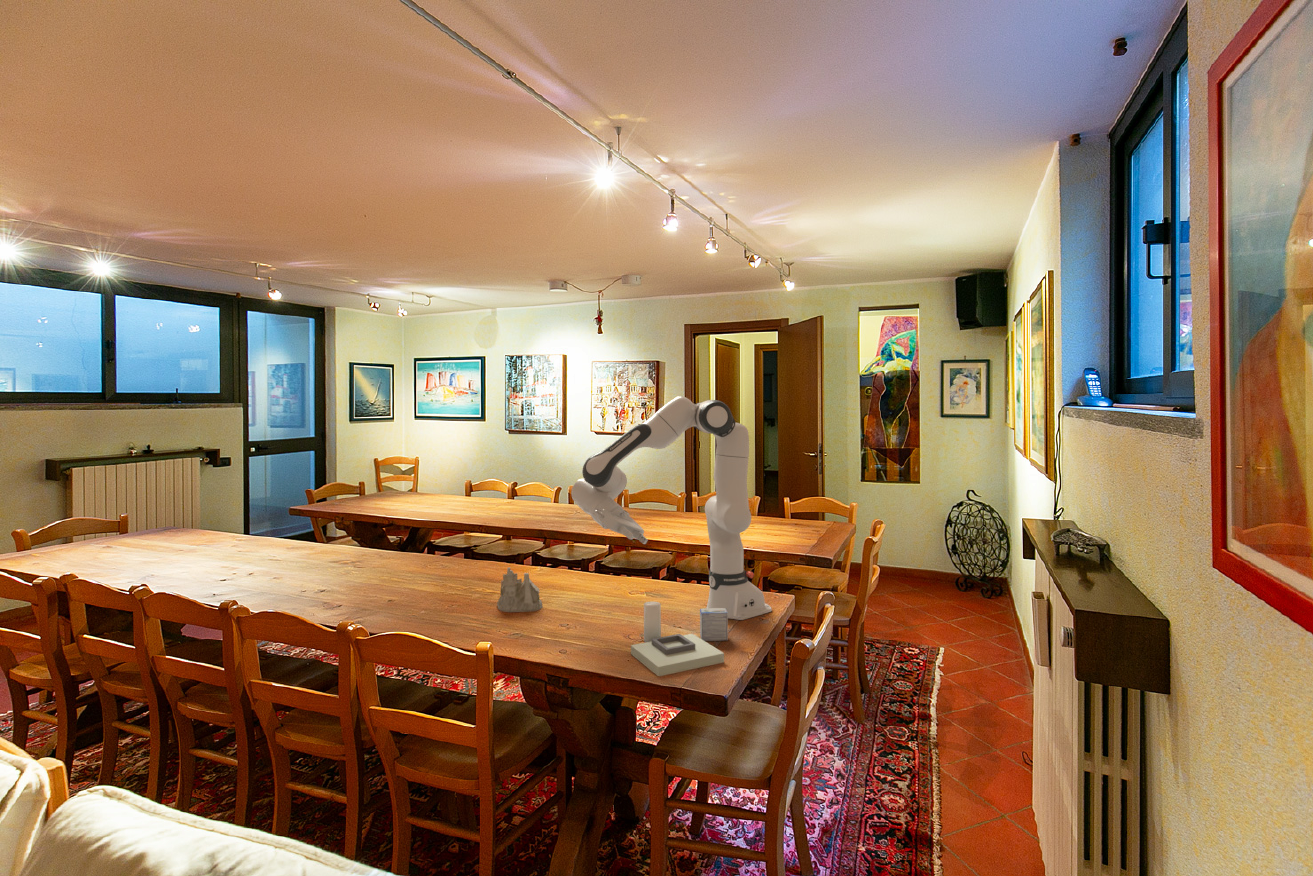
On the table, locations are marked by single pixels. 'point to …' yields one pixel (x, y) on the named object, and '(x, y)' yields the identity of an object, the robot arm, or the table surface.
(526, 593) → the stone castle model
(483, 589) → the table surface
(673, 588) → the table surface
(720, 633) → the medicine box
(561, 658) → the table surface
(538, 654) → the table surface
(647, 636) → the white rounded capsule
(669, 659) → the slab with grey frame
